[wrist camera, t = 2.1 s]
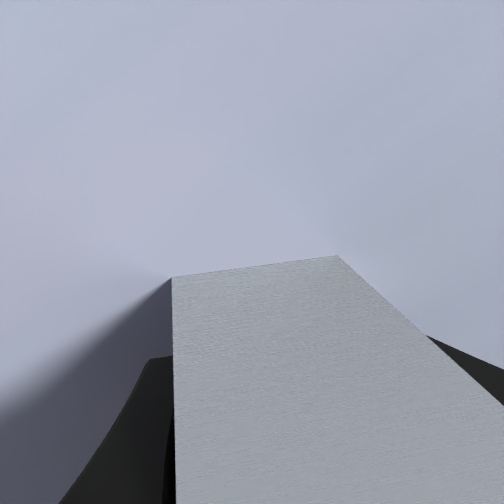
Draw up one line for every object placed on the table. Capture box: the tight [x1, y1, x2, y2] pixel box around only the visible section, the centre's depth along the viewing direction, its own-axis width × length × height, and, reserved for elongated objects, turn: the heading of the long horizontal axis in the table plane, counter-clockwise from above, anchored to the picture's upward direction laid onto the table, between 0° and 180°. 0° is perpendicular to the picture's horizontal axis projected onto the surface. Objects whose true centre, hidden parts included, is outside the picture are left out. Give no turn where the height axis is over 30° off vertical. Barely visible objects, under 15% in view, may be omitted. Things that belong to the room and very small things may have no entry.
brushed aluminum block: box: [172, 256, 504, 504], centre depth 8 cm, size 4×4×7 cm
